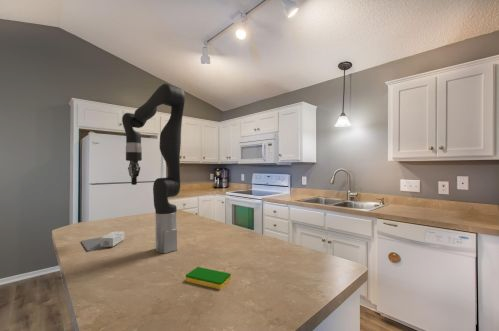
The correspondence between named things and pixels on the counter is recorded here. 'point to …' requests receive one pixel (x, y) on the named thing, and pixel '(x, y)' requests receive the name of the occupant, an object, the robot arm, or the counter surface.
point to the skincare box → (112, 239)
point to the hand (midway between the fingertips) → (134, 184)
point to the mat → (93, 244)
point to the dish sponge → (208, 277)
